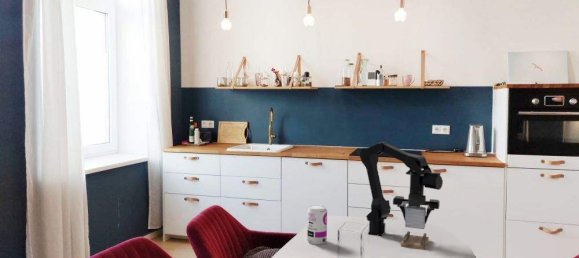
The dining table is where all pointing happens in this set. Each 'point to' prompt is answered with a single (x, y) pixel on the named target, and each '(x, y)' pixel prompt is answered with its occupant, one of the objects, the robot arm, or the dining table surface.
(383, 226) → the robot arm
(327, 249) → the dining table surface
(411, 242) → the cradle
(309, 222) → the supplement can
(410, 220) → the medicine box
